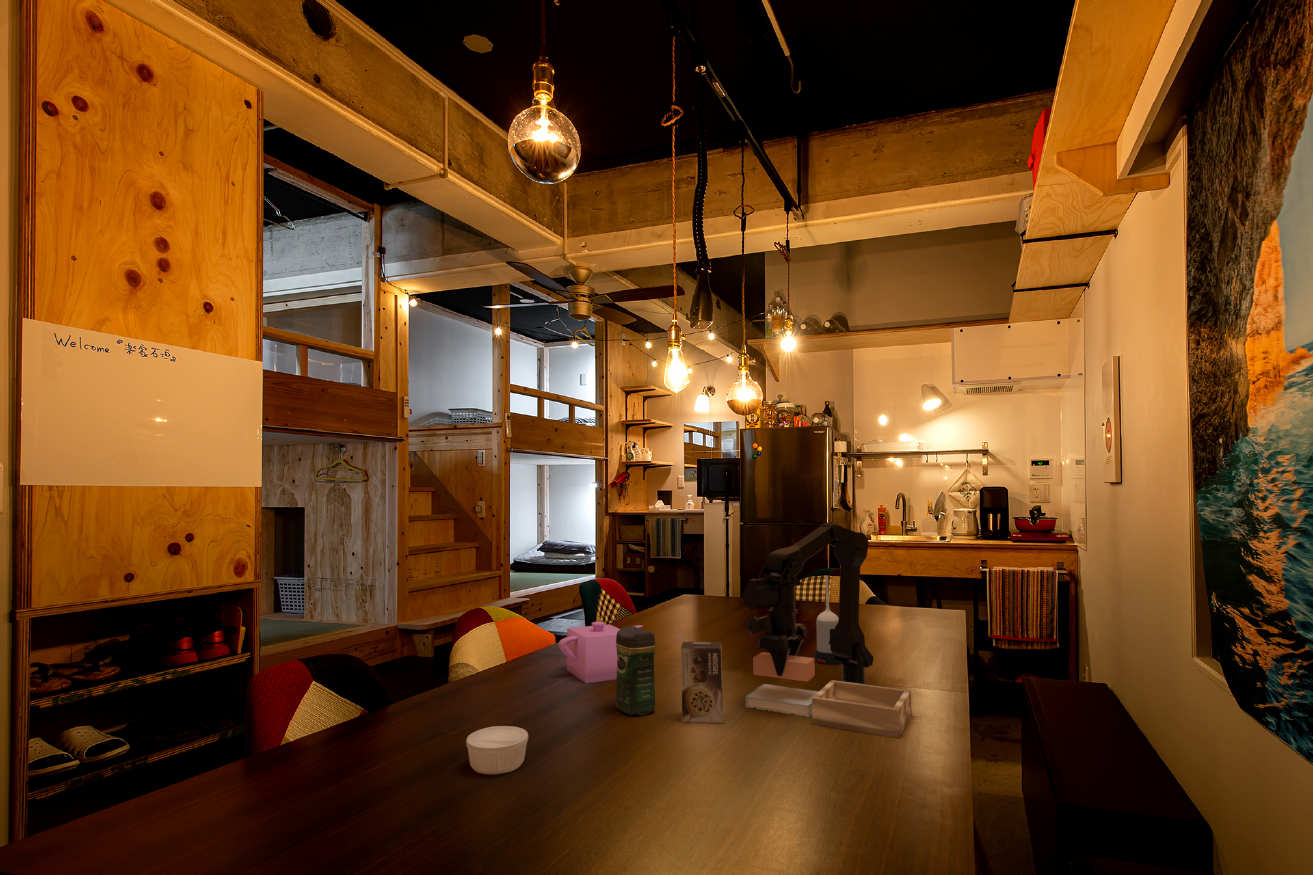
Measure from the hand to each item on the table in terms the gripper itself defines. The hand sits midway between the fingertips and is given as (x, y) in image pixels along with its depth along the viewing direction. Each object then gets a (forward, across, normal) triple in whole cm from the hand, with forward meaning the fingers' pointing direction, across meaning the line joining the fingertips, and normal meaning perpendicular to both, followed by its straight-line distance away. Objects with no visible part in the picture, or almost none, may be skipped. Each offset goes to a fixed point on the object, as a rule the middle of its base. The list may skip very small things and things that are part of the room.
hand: (783, 672), depth 164 cm
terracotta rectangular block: (0, 0, 0) cm, 0 cm away
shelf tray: (+8, +2, +18) cm, 20 cm away
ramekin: (+8, +60, -35) cm, 70 cm away
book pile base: (+8, 0, 0) cm, 8 cm away
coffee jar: (+8, +20, -29) cm, 36 cm away
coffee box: (+8, +18, -13) cm, 23 cm away
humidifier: (+8, -47, -2) cm, 48 cm away
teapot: (+8, -4, -54) cm, 55 cm away
